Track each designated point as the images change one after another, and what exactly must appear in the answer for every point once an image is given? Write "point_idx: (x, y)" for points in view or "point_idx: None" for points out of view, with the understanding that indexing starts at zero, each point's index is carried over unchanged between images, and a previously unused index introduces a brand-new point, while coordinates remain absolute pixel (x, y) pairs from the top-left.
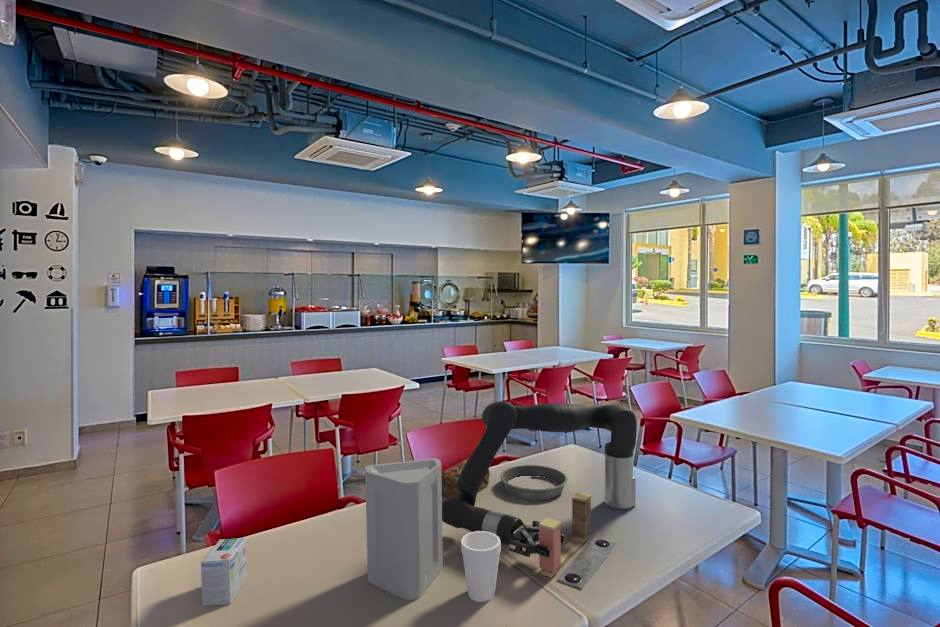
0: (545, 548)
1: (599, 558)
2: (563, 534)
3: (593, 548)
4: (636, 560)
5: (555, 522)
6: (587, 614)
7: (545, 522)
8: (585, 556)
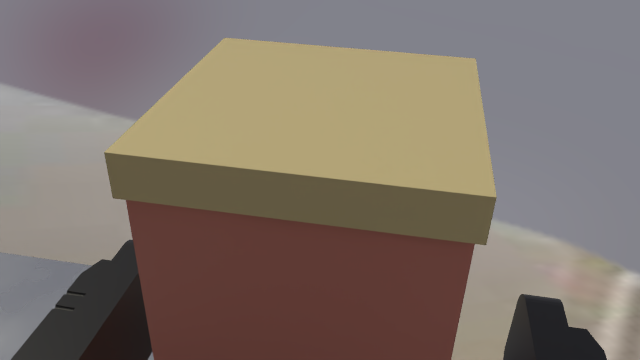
0: (569, 334)
1: (41, 277)
2: (127, 241)
3: None
4: (36, 172)
5: (281, 62)
6: (602, 272)
7: (353, 134)
8: (12, 347)
